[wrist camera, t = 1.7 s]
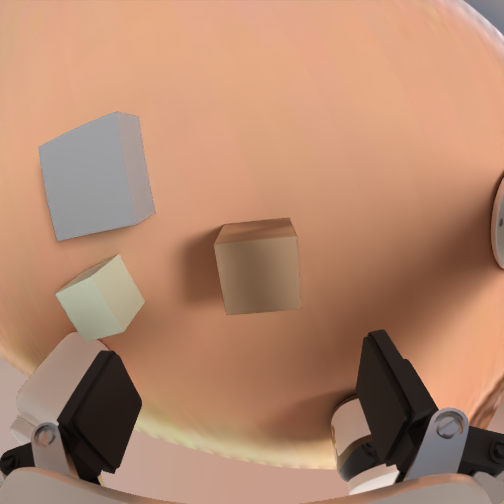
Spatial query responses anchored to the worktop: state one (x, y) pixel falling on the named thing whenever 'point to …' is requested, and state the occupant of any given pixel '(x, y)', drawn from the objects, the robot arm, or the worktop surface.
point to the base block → (97, 177)
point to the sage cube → (101, 300)
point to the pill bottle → (53, 384)
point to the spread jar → (357, 450)
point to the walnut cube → (258, 266)
